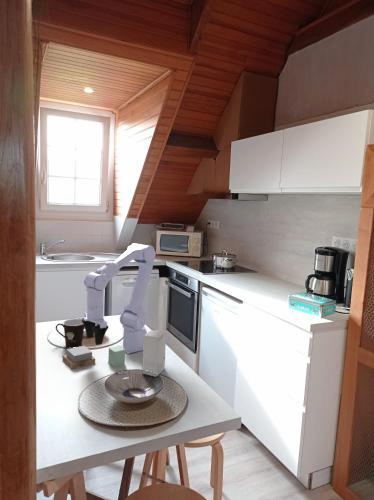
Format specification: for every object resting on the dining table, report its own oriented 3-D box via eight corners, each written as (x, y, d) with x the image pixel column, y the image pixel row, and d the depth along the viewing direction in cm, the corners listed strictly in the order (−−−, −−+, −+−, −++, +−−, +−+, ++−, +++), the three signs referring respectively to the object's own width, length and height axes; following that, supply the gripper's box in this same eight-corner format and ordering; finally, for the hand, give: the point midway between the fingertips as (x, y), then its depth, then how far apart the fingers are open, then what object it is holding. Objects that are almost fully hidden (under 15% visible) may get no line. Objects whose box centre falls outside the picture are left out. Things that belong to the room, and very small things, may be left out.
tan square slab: (85, 356, 145) (85, 350, 145) (95, 364, 138) (95, 358, 138) (62, 361, 140) (62, 355, 139) (72, 370, 133) (72, 364, 132)
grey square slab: (84, 351, 143) (84, 345, 143) (91, 358, 138) (92, 351, 138) (66, 355, 139) (66, 349, 139) (74, 362, 134) (74, 356, 133)
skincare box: (156, 378, 129) (158, 338, 128) (140, 375, 131) (142, 335, 129) (165, 368, 137) (167, 330, 135) (150, 365, 139) (152, 327, 137)
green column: (118, 360, 142) (119, 345, 141) (124, 364, 139) (125, 349, 138) (108, 362, 139) (108, 347, 139) (114, 367, 136) (114, 351, 135)
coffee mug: (88, 344, 155) (89, 322, 154) (72, 351, 148) (73, 327, 146) (70, 338, 161) (70, 316, 160) (53, 343, 154) (54, 320, 152)
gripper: (76, 301, 138) (76, 336, 140) (93, 312, 127) (92, 349, 128) (94, 299, 142) (93, 333, 144) (111, 309, 131) (110, 345, 133)
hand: (94, 340), depth 136 cm, fingers open, 7 cm apart
